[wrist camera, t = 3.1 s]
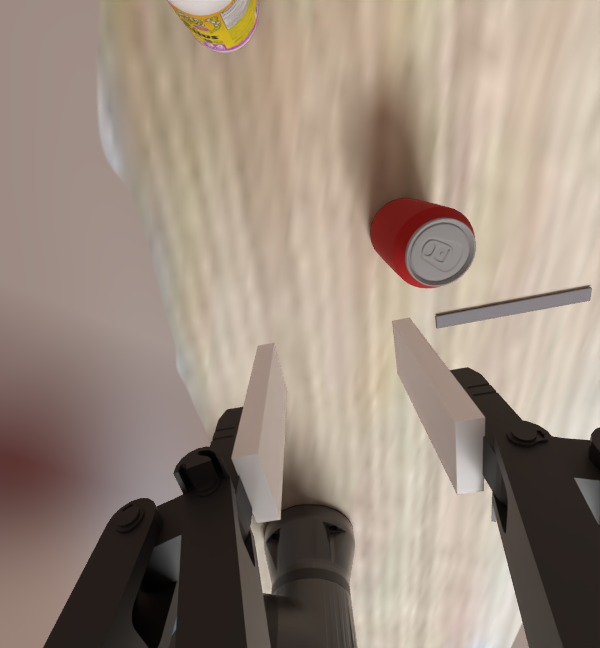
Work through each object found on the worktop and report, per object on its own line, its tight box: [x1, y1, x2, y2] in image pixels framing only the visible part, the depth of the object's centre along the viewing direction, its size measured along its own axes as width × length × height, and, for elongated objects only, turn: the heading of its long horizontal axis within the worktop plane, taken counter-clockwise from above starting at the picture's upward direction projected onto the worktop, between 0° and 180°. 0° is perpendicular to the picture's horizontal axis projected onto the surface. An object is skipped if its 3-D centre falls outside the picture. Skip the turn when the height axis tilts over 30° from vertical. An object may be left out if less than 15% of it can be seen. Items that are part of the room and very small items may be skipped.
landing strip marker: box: [436, 287, 592, 328], centre depth 41 cm, size 18×2×1 cm, turn 102°
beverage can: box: [370, 198, 476, 288], centre depth 32 cm, size 7×7×12 cm
